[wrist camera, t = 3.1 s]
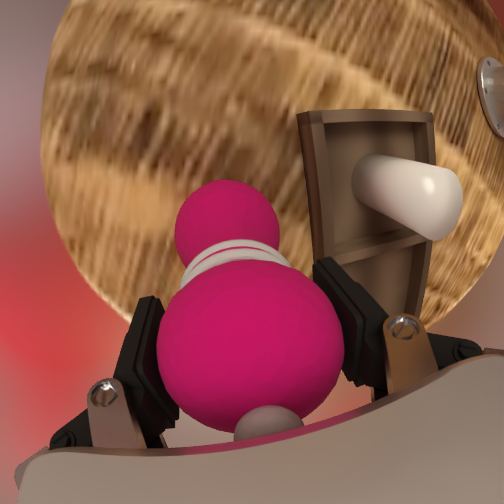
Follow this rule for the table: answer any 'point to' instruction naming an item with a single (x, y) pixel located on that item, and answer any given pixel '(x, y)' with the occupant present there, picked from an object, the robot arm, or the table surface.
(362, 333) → the robot arm
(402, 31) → the table surface
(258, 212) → the pepper mill
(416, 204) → the salt shaker
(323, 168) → the walnut cruet tray
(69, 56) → the table surface
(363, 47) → the table surface
